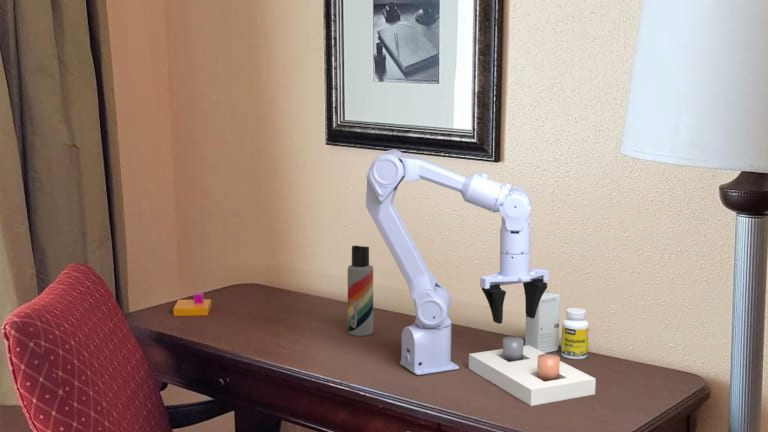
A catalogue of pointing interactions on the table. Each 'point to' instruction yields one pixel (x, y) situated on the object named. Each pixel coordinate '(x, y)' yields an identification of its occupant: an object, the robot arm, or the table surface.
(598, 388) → the table surface
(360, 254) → the lotion bottle
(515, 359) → the button far
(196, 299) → the yellow slab with magenta
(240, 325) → the table surface
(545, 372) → the button near
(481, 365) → the white board with holes
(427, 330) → the robot arm
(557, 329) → the skincare box
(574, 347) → the supplement bottle
